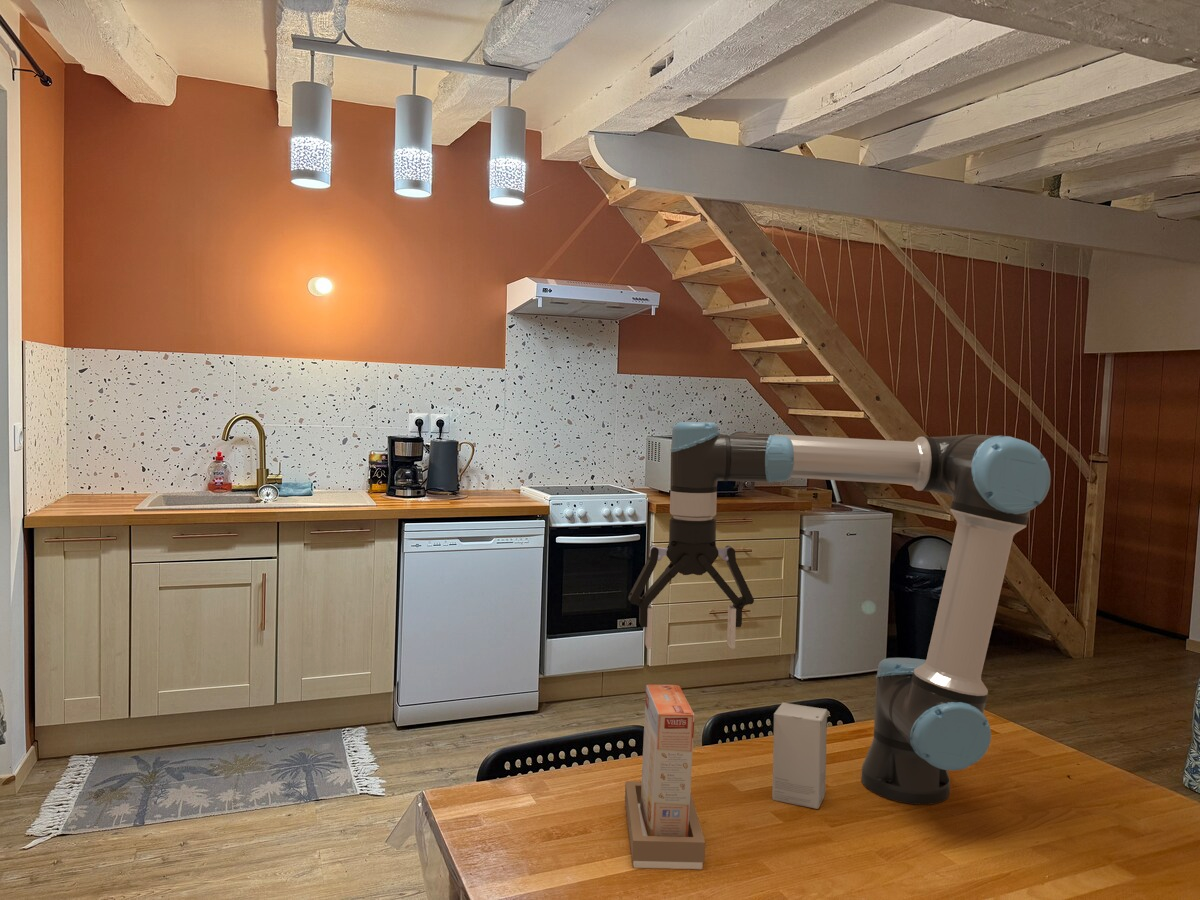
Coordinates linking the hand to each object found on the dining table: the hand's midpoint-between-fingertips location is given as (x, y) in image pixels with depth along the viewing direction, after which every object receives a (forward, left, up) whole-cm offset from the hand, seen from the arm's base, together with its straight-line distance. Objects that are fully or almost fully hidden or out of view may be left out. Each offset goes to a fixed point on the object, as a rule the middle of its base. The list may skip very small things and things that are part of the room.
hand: (689, 646), depth 144 cm
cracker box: (+4, +7, -27) cm, 28 cm away
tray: (+4, +7, -28) cm, 29 cm away
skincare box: (-21, -7, -28) cm, 36 cm away
